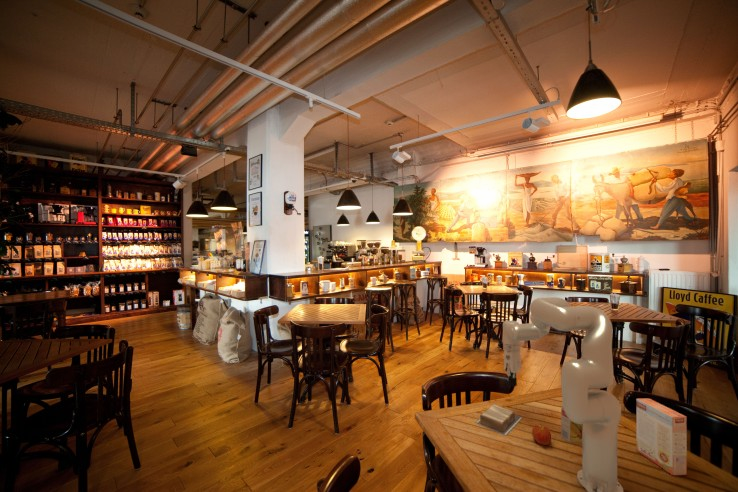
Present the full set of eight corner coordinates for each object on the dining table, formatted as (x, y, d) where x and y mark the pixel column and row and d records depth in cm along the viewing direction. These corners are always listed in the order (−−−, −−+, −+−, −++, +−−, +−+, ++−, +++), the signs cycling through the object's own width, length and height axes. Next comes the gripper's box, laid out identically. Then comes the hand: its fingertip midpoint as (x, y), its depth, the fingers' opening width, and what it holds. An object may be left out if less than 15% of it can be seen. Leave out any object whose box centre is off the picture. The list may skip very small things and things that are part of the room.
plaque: (514, 420, 144) (502, 432, 134) (493, 412, 151) (480, 423, 142) (514, 411, 144) (502, 423, 134) (493, 403, 151) (480, 414, 142)
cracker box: (688, 475, 110) (688, 416, 110) (672, 476, 109) (671, 416, 109) (649, 450, 124) (649, 397, 124) (635, 450, 123) (635, 397, 123)
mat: (506, 436, 132) (506, 435, 132) (475, 423, 142) (475, 422, 142) (523, 418, 146) (523, 417, 146) (493, 407, 156) (493, 406, 156)
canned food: (588, 441, 129) (588, 412, 129) (573, 445, 127) (573, 415, 127) (570, 431, 136) (570, 403, 136) (556, 434, 134) (556, 406, 134)
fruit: (552, 441, 129) (552, 422, 129) (550, 450, 123) (550, 430, 123) (533, 436, 133) (533, 417, 133) (531, 444, 127) (531, 425, 127)
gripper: (513, 351, 143) (514, 392, 142) (525, 345, 154) (526, 383, 153) (497, 348, 148) (498, 387, 148) (509, 342, 159) (510, 379, 158)
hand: (512, 385), depth 150 cm, fingers closed
